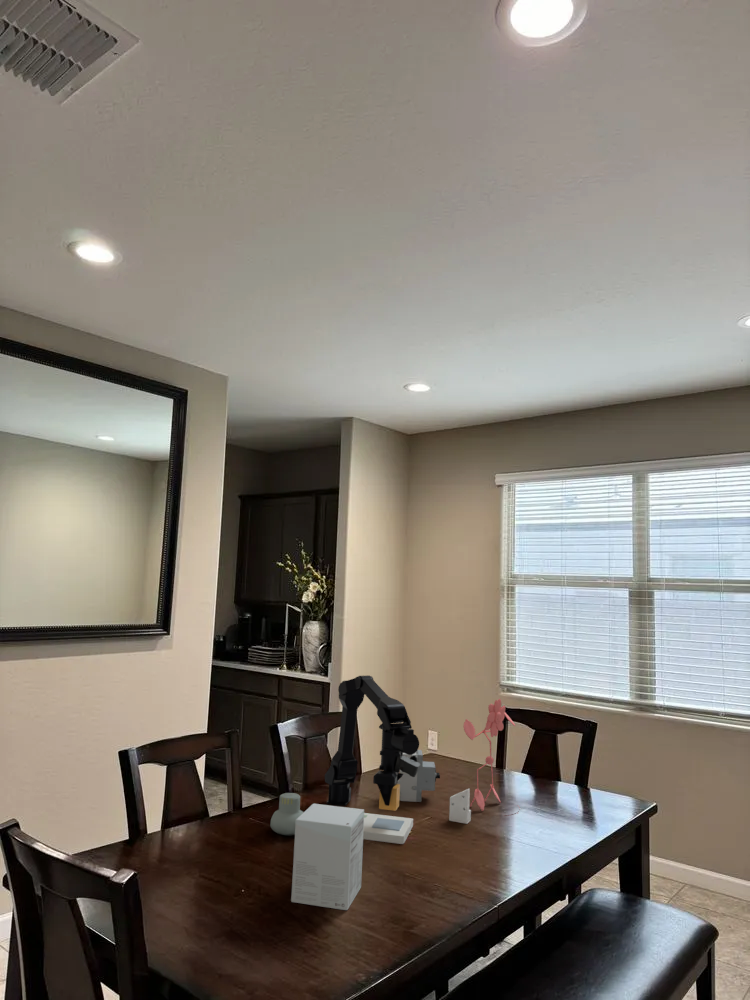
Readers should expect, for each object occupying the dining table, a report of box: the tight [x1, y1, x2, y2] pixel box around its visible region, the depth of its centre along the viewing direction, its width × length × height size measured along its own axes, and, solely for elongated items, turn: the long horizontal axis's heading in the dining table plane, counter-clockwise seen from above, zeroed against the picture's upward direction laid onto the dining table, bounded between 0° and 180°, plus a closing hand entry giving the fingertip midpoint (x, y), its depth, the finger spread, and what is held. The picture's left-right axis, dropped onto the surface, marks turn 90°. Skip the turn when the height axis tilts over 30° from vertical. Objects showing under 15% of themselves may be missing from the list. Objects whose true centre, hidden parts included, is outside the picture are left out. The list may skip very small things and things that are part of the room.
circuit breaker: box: [397, 749, 441, 803], centre depth 233 cm, size 8×14×15 cm, turn 89°
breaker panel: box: [363, 812, 414, 845], centre depth 199 cm, size 20×16×2 cm
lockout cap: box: [378, 784, 400, 812], centre depth 200 cm, size 5×5×6 cm
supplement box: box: [290, 803, 365, 911], centre depth 157 cm, size 13×13×18 cm
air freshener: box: [270, 792, 305, 836], centre depth 195 cm, size 11×8×10 cm
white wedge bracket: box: [448, 788, 472, 825], centre depth 212 cm, size 4×10×9 cm, turn 65°
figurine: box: [463, 698, 520, 817], centre depth 227 cm, size 15×26×35 cm, turn 140°
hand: (389, 802), depth 199 cm, fingers closed on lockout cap, 5 cm apart
